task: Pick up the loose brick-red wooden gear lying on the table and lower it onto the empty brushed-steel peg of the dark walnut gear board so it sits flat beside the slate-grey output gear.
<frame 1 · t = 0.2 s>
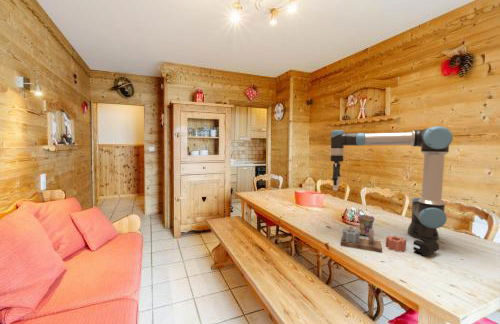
hand: (336, 188, 148), 28 cm above the table, fingers open, 13 cm apart
mug: (364, 233, 146), on the table
end cap: (425, 253, 119), on the table
red gear: (395, 247, 126), on the table
gear board: (360, 245, 129), on the table
output gear: (351, 235, 131), point 5 cm above the table, hinge at 0.0°
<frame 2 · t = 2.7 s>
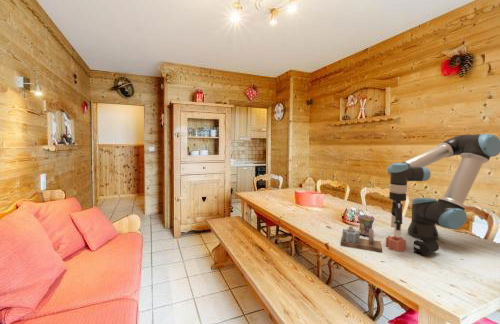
hand: (395, 231, 125), 9 cm above the table, fingers open, 13 cm apart
nothing on the table moved.
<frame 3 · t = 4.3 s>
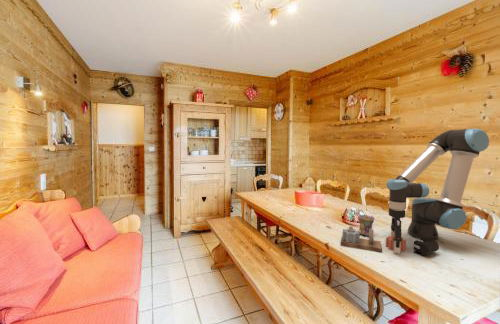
hand: (395, 247, 125), 0 cm above the table, fingers open, 13 cm apart
nothing on the table moved.
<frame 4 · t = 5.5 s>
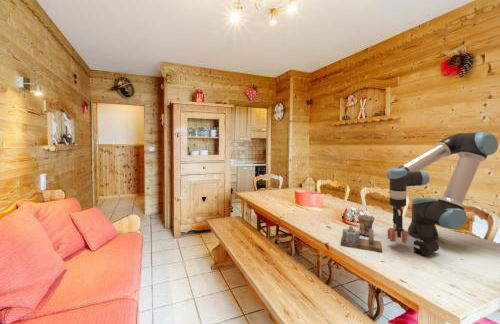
hand: (397, 239, 125), 5 cm above the table, fingers closed on red gear, 9 cm apart
red gear: (397, 239, 125), point 4 cm above the table, touching gripper
everything else where it was.
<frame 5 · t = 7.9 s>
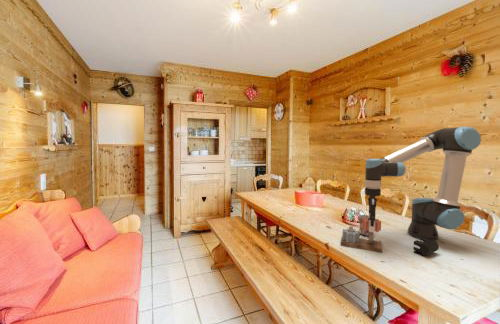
hand: (371, 228, 126), 10 cm above the table, fingers closed on red gear, 9 cm apart
red gear: (371, 229, 126), point 10 cm above the table, touching gripper
everything else where it was.
when the fingers open (3 cm above the table, at t = 10.1 s): red gear drops 1 cm, resting on gear board.
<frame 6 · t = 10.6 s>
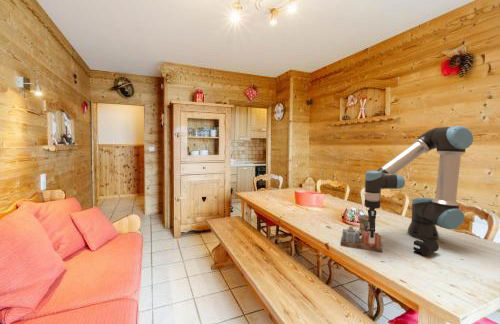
hand: (371, 238, 127), 5 cm above the table, fingers open, 13 cm apart
red gear: (370, 243, 127), point 2 cm above the table, touching gear board
everything else where it was.
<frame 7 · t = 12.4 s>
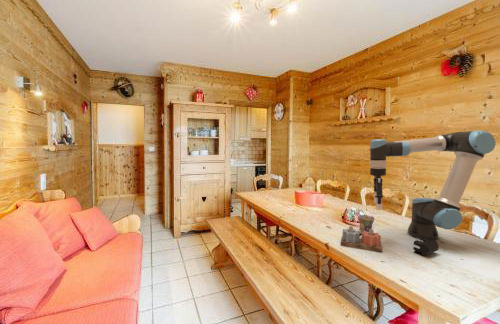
hand: (377, 206, 128), 22 cm above the table, fingers open, 13 cm apart
nothing on the table moved.
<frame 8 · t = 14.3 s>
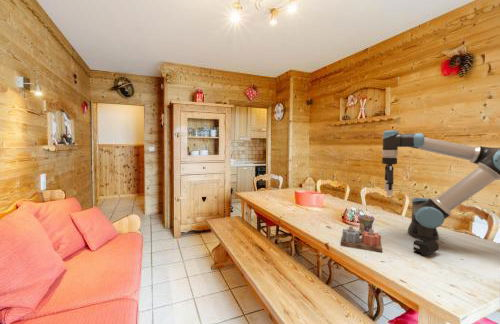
hand: (388, 193, 137), 27 cm above the table, fingers open, 13 cm apart
nothing on the table moved.
at the end: red gear 0.1 cm from the target spot, point 2.0 cm above the table; red gear tilted 0°; the gripper is holding nothing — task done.
